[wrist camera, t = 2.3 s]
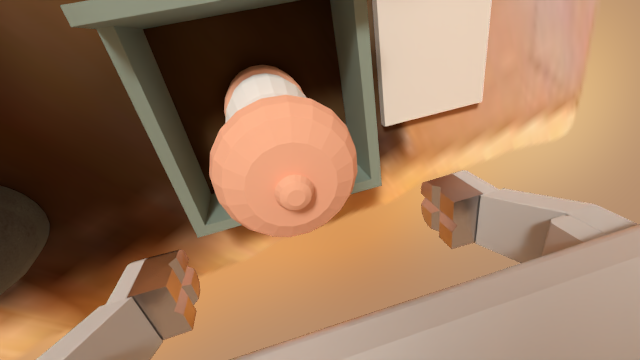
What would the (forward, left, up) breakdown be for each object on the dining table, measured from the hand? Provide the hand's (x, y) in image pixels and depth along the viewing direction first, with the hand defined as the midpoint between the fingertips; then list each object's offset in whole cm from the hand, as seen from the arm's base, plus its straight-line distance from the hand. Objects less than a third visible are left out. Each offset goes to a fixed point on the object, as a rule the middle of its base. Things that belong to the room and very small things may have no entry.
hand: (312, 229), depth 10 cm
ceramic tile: (+18, +1, -21) cm, 28 cm away
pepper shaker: (0, 0, -21) cm, 21 cm away
